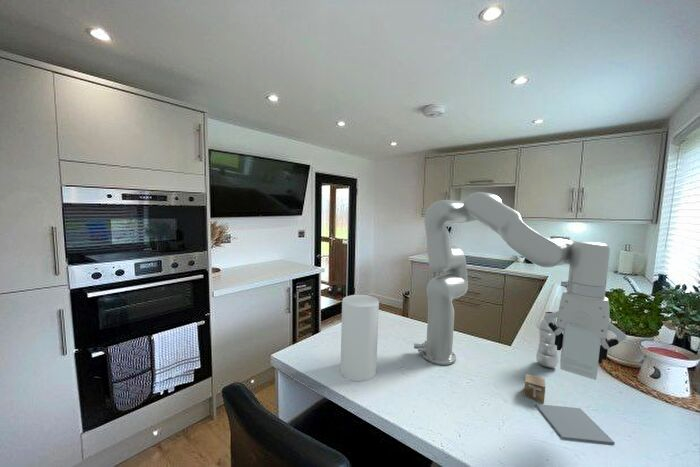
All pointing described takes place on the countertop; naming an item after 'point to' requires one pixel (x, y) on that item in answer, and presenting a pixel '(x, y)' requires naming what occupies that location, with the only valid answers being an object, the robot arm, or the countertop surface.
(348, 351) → the cylinder
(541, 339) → the plastic bottle
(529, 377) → the letter cube
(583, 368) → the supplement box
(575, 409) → the mat
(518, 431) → the countertop surface
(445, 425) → the countertop surface
